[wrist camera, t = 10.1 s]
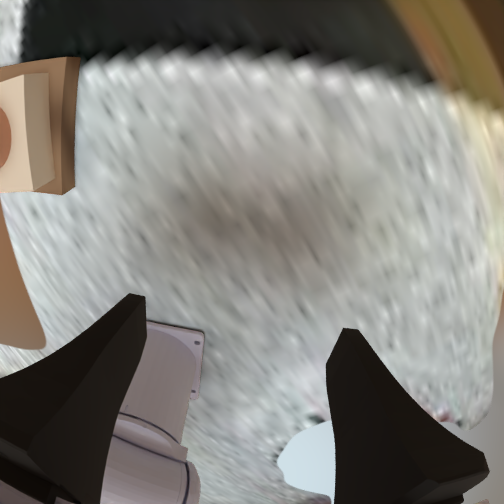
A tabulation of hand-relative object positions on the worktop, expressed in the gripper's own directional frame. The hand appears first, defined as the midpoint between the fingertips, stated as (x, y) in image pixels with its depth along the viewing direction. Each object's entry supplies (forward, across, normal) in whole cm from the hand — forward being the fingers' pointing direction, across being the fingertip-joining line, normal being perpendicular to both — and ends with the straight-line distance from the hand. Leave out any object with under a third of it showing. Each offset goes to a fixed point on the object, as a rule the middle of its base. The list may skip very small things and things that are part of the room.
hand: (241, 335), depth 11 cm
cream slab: (+9, +17, -4) cm, 20 cm away
